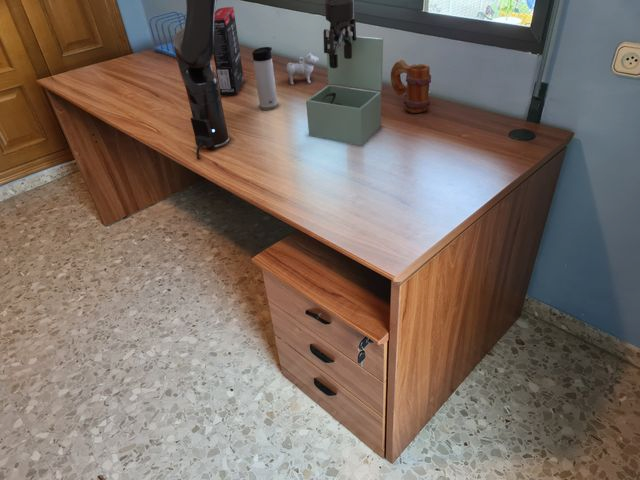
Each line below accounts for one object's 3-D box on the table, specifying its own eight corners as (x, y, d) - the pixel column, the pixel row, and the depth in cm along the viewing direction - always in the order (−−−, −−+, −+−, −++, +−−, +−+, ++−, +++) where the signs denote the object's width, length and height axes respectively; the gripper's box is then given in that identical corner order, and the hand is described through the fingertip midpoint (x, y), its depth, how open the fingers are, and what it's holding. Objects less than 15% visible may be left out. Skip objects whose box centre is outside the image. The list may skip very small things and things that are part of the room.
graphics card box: (228, 81, 191) (215, 7, 175) (245, 80, 191) (233, 6, 174) (220, 97, 178) (205, 19, 161) (238, 96, 177) (225, 17, 161)
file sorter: (154, 51, 232) (145, 17, 223) (185, 42, 241) (177, 9, 232) (181, 60, 217) (173, 24, 208) (213, 50, 227) (206, 16, 217)
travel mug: (276, 110, 164) (268, 50, 152) (257, 110, 166) (248, 51, 153) (280, 103, 169) (273, 45, 157) (263, 103, 171) (254, 45, 158)
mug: (435, 109, 156) (439, 62, 147) (421, 117, 152) (424, 70, 143) (398, 99, 165) (400, 55, 156) (384, 107, 160) (385, 62, 151)
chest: (361, 145, 140) (360, 109, 133) (309, 135, 147) (305, 100, 140) (380, 127, 149) (381, 92, 142) (330, 118, 156) (328, 84, 150)
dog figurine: (320, 82, 184) (319, 53, 177) (287, 85, 183) (284, 56, 177) (319, 77, 188) (317, 49, 181) (287, 80, 187) (284, 52, 181)
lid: (382, 39, 133) (390, 34, 136) (326, 34, 140) (335, 29, 144) (380, 91, 141) (388, 85, 145) (328, 83, 149) (336, 78, 153)
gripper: (339, -7, 130) (341, 54, 140) (312, 5, 121) (316, 69, 131) (364, -6, 127) (364, 57, 137) (338, 6, 118) (340, 72, 128)
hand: (341, 63), depth 134 cm, fingers open, 8 cm apart
